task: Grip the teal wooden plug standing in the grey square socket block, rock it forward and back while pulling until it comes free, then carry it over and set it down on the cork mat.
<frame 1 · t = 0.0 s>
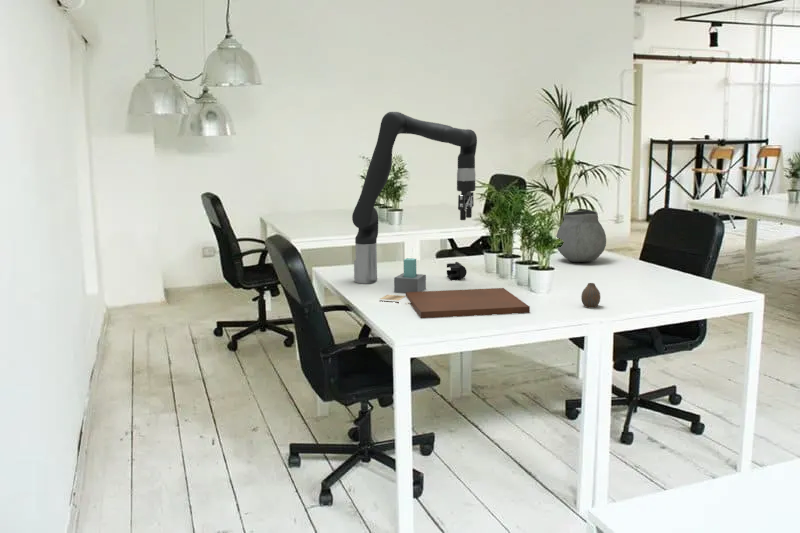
hand: (465, 218, 309), 29 cm above the table, tool pointing down, fingers open, 8 cm apart
mat: (392, 299, 295), on the table
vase: (590, 307, 282), on the table
flat brown board: (464, 307, 286), on the table
end cap: (456, 278, 336), on the table
grey square socket block: (410, 292, 307), on the table
ceramic pot: (580, 262, 374), on the table
plug: (410, 290, 307), point 1 cm above the table, touching grey square socket block
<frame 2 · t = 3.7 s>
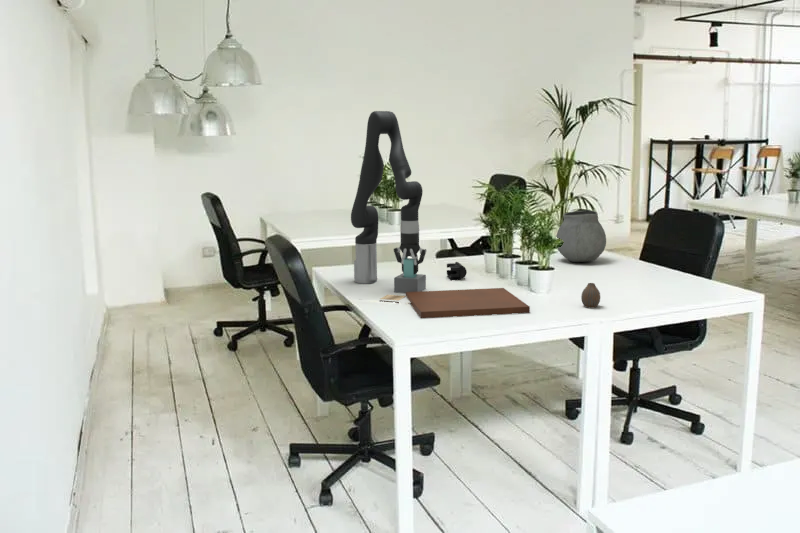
hand: (410, 273, 306), 8 cm above the table, tool pointing down, fingers closed on plug, 4 cm apart
plug: (410, 290, 307), point 1 cm above the table, touching gripper, grey square socket block
everything else where it was.
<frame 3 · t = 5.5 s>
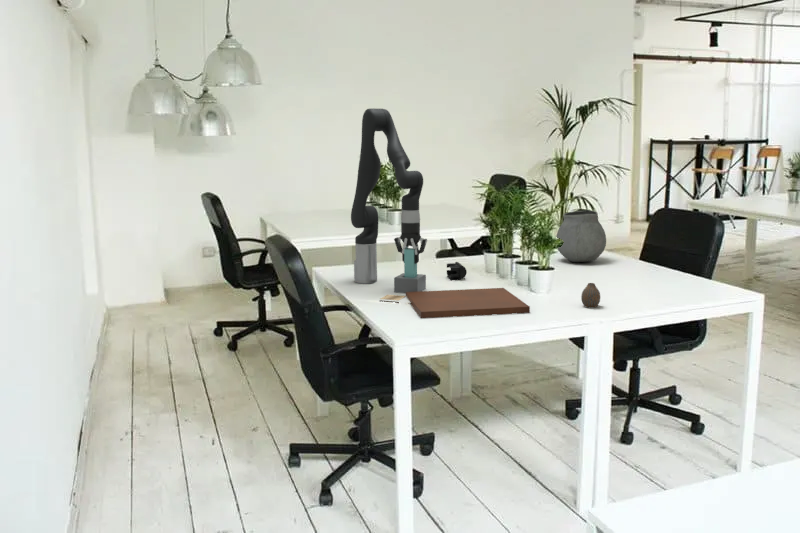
hand: (410, 262, 305), 12 cm above the table, tool pointing down, fingers closed on plug, 4 cm apart
plug: (410, 280, 306), point 5 cm above the table, touching gripper
everything else where it was.
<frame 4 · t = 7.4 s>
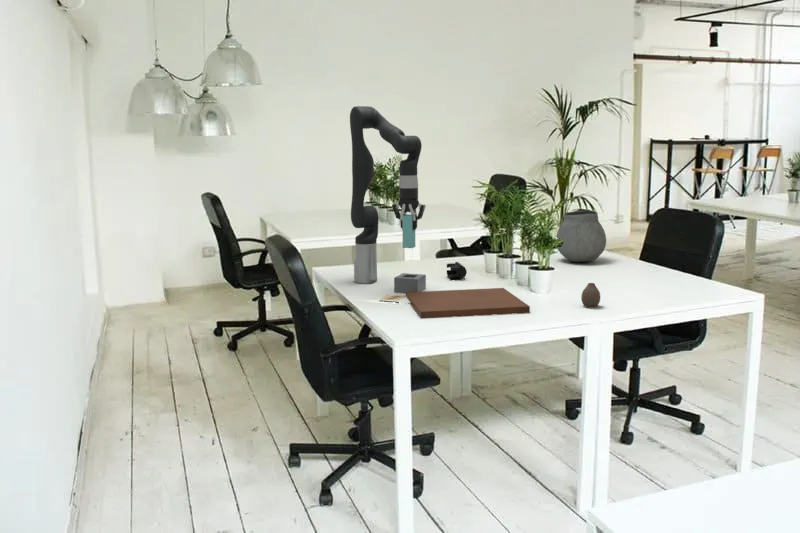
hand: (408, 229, 302), 26 cm above the table, tool pointing down, fingers closed on plug, 4 cm apart
plug: (409, 247, 303), point 19 cm above the table, touching gripper
everything else where it was.
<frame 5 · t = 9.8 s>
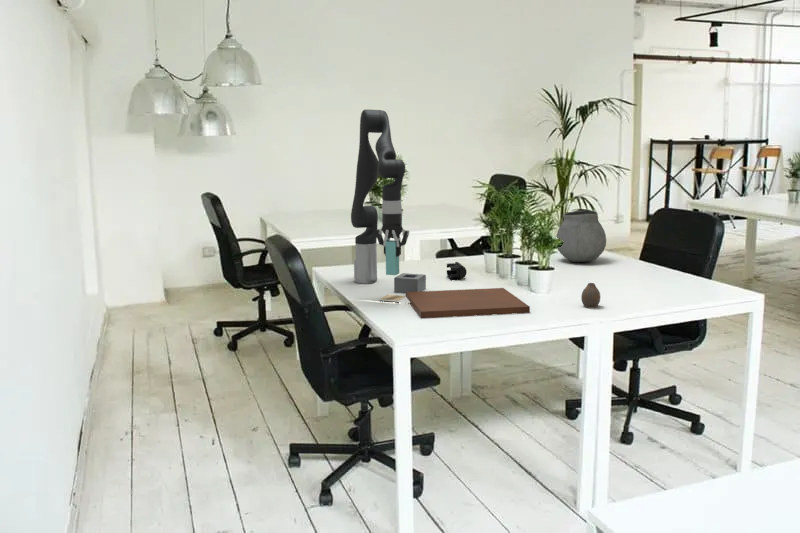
hand: (392, 255, 292), 18 cm above the table, tool pointing down, fingers closed on plug, 4 cm apart
plug: (392, 274, 293), point 10 cm above the table, touching gripper
everything else where it was.
when the fingers open (10 cm above the table, at t = 11.6 s): plug drops 1 cm, resting on mat.
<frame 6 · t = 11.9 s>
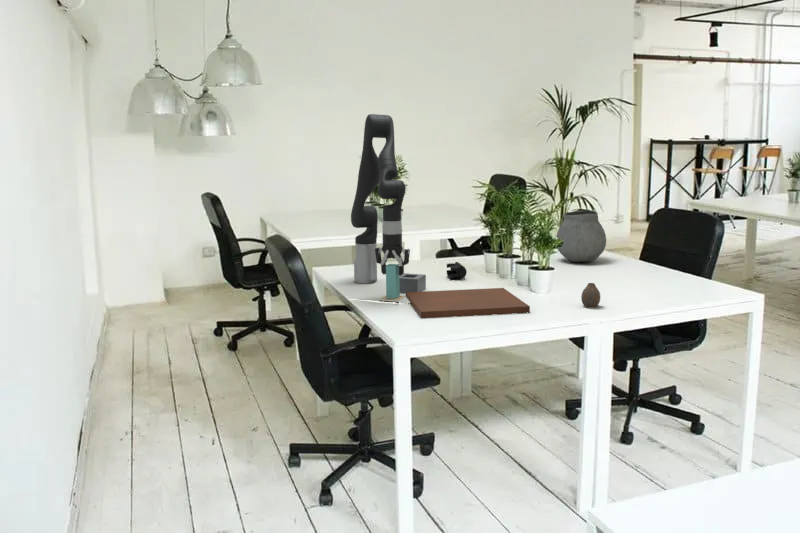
hand: (392, 274, 293), 10 cm above the table, tool pointing down, fingers open, 6 cm apart
plug: (392, 297, 295), point 1 cm above the table, touching mat
everything else where it was.
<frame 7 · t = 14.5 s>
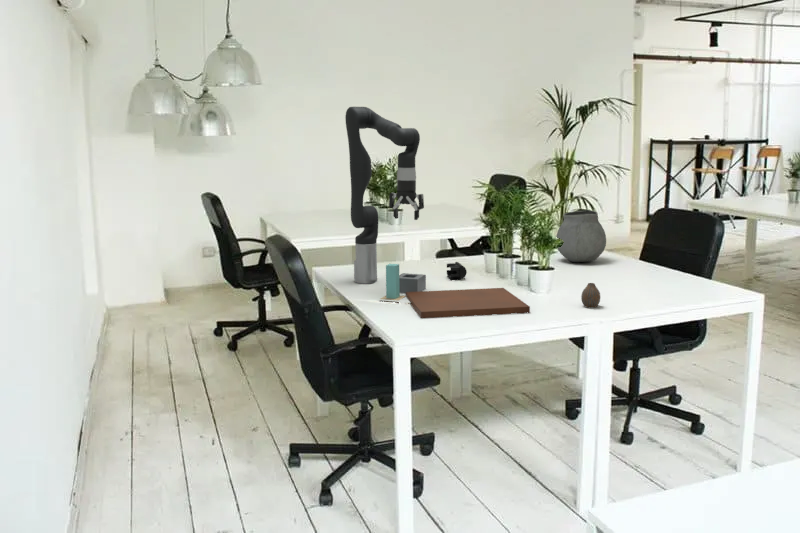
hand: (406, 219, 304), 30 cm above the table, tool pointing down, fingers open, 8 cm apart
nothing on the table moved.
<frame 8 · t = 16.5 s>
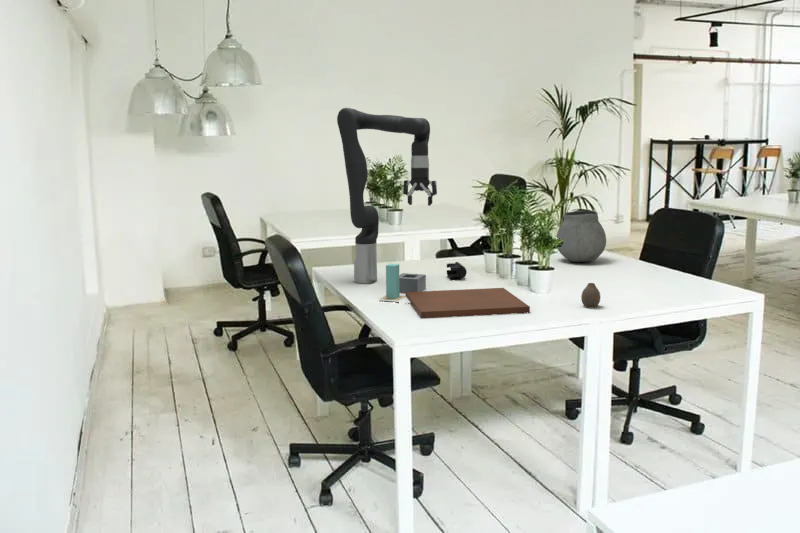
hand: (420, 205, 318), 34 cm above the table, tool pointing down, fingers open, 8 cm apart
nothing on the table moved.
at the end: plug inside the target area on the mat (0.1 cm from its centre), point 1.0 cm above the mat's base; plug touching mat; the gripper is holding nothing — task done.
